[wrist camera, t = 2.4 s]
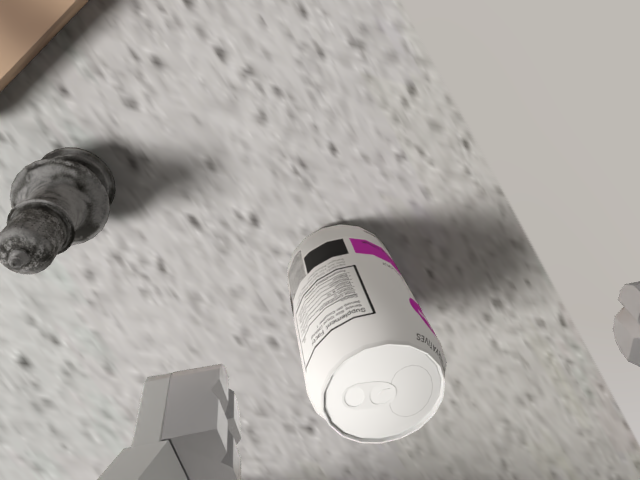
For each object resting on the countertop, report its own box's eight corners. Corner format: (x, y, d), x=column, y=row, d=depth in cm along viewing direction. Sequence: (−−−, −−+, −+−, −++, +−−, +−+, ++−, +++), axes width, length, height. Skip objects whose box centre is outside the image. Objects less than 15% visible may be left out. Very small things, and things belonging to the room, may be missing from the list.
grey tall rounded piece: (43, 128, 36) (-37, 191, 25) (131, 164, 38) (91, 238, 27) (18, 204, 38) (-67, 293, 27) (103, 235, 40) (55, 330, 29)
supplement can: (390, 218, 42) (463, 328, 29) (384, 308, 46) (446, 444, 32) (285, 223, 41) (310, 340, 28) (287, 315, 45) (310, 458, 31)
